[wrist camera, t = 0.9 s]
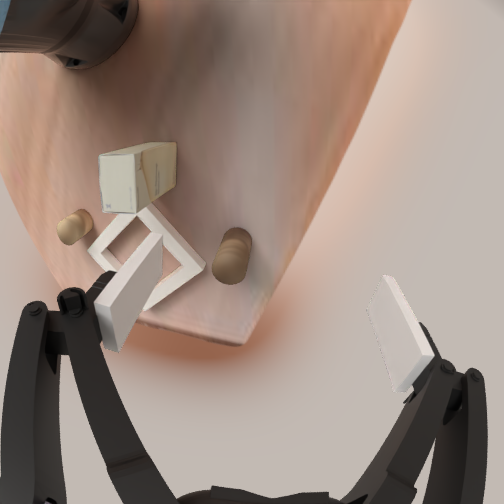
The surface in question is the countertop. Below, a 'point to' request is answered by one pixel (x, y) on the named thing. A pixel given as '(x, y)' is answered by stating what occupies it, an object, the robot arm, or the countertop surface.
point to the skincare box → (136, 176)
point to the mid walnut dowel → (232, 256)
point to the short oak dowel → (74, 227)
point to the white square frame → (171, 241)
